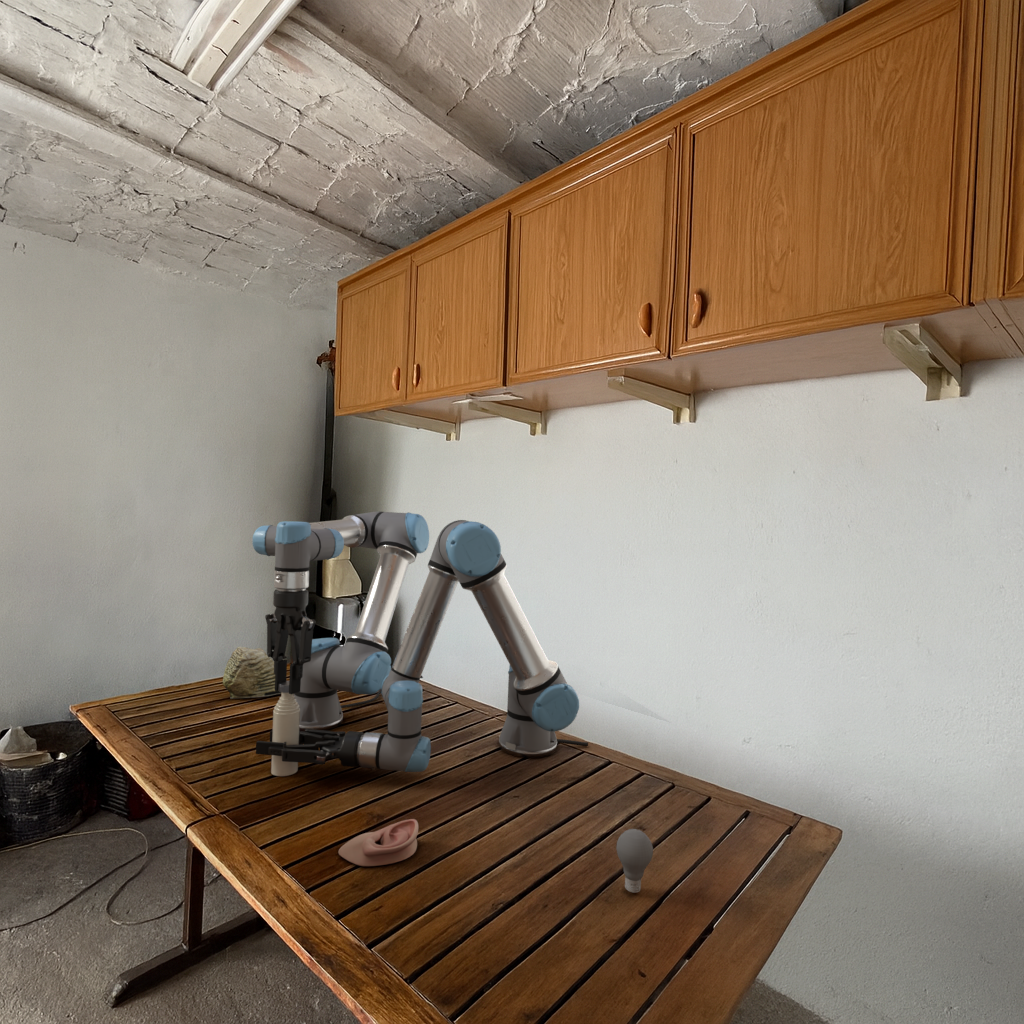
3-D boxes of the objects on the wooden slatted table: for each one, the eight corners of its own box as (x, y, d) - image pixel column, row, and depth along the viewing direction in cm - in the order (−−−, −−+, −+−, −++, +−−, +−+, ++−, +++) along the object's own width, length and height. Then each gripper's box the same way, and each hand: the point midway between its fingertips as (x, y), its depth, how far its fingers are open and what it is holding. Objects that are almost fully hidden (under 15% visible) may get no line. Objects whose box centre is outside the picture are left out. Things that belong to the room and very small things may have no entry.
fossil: (218, 695, 195) (220, 647, 195) (278, 685, 208) (279, 640, 207) (228, 703, 189) (230, 653, 188) (289, 692, 201) (290, 645, 201)
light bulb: (610, 879, 108) (613, 822, 108) (644, 879, 109) (647, 822, 109) (619, 902, 102) (622, 840, 102) (655, 901, 103) (658, 840, 103)
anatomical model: (330, 838, 110) (359, 807, 121) (329, 861, 110) (358, 828, 121) (402, 850, 107) (425, 817, 119) (401, 873, 108) (424, 838, 119)
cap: (295, 687, 148) (295, 679, 148) (297, 691, 144) (298, 684, 144) (277, 688, 146) (277, 681, 146) (279, 693, 142) (280, 686, 142)
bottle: (300, 765, 149) (304, 683, 148) (293, 776, 143) (297, 690, 142) (275, 765, 148) (278, 682, 148) (267, 776, 142) (270, 689, 142)
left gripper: (251, 587, 145) (248, 688, 146) (306, 594, 138) (302, 701, 138) (277, 583, 152) (273, 680, 152) (330, 591, 144) (326, 693, 145)
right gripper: (346, 784, 134) (242, 775, 136) (373, 749, 153) (281, 742, 155) (348, 749, 134) (243, 741, 136) (375, 719, 153) (282, 712, 155)
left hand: (287, 690), depth 145 cm, fingers closed on cap, 4 cm apart
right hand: (264, 741), depth 146 cm, fingers closed on bottle, 6 cm apart
